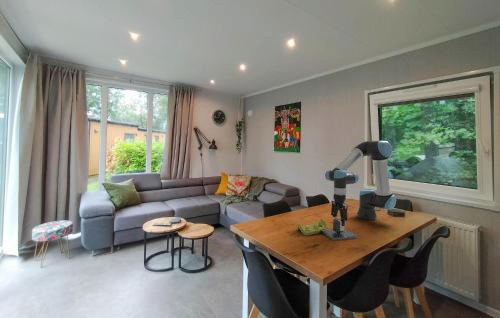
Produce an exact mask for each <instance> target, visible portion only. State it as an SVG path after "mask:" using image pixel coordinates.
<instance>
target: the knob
mask: <svg viewBox="0 0 500 318" xmlns="http://www.w3.org/2000/svg"><path fill="white" fill-rule="evenodd" d="M340 220H341V218H339V219H338V218H337V219H334V220H333V219H332V229H333V231H335V232H340V233H342V232H344V231H340Z"/></svg>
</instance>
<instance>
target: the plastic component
mask: <svg viewBox="0 0 500 318" xmlns="http://www.w3.org/2000/svg"><path fill="white" fill-rule="evenodd" d="M327 228H328V223H327V221H325V219H323V218H322V219H319V220H318V221H315V222H314V223H312V224H307V225H301V224H300V223H298V224H297V226H296V230H297V231H301V233H302V235H304V236H311V235H315V234H320V231H323V230H327Z"/></svg>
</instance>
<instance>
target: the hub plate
mask: <svg viewBox="0 0 500 318" xmlns="http://www.w3.org/2000/svg"><path fill="white" fill-rule="evenodd" d="M319 234H322V235H324V237H327V238H328V239H330V240H331V241H333V242H334V241H341V240H342V241H343V240H353V239H358V235H357V234H355V233H353V232H352V231H350V230H347V229H346V228H344V232H342V233H340V232H335V231H333V228H331V229H330V228H329V229H325V230H323V231H320V232H319Z"/></svg>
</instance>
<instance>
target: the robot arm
mask: <svg viewBox="0 0 500 318" xmlns="http://www.w3.org/2000/svg"><path fill="white" fill-rule="evenodd" d="M392 151H393V148H392V145H391V143H390V142H388V141H387V140H366V141H362V142H361V143H359V144H357V145H355V146H354V147H353V148H352V149H351V152H350V153H349V154H348V155H346V157H344V158H343V159H342V161H340V162H339V163H338V164H337V165H336V166H335V167H334V168H333V169H332V170H326V172H325V175H324V177H325V179H326V180H327V181H329V182H333V196H332V197H333V200H331V207H330V208H331V211H330V216H332V221H333V220H334V219H338V213H339V216H340V231H344V229H345V226H346V225H345V224H346V223H345V222H346V221H347V222H348V208H349V207H348V205H347V204H346V203H345V201H346V199H347V185H353V184H356V183H358V182H359V180H360V179H359V174H357V173H356V172H352V171H351V172H347V171H349V170H350V169H351V167H353V165H354V164H356V162H358V161H359V160H361V159H363V158H364V157H370V159H371V161H373V166H374V175H375V183H376V184H375V185H376V187H375V188H376V189H362V190H360V191H359V199H358V200H359V204H358V209H357V212H356V218H359V219H362V220H367V221H376V220H377V219H378V216H377V212H376V208H379V209H382V210H387V211H391V210H393V209H394V208H395V206H396V203H397V197H396V195H394V194H393V191H392V190H390V179H389V171H388V169H389V168H388V160H389V159H390V157H391V156H392Z"/></svg>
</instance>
